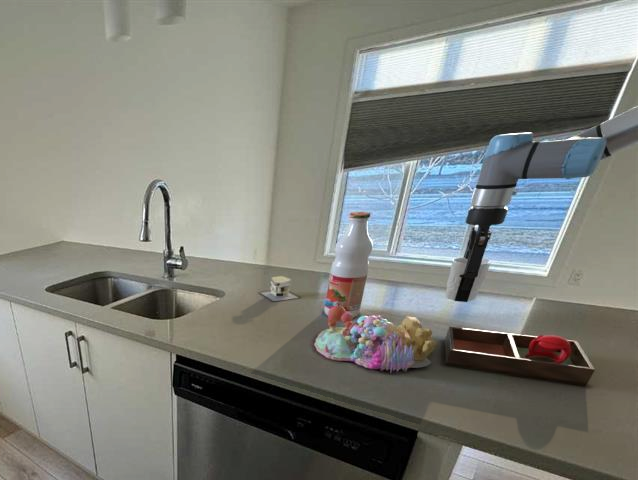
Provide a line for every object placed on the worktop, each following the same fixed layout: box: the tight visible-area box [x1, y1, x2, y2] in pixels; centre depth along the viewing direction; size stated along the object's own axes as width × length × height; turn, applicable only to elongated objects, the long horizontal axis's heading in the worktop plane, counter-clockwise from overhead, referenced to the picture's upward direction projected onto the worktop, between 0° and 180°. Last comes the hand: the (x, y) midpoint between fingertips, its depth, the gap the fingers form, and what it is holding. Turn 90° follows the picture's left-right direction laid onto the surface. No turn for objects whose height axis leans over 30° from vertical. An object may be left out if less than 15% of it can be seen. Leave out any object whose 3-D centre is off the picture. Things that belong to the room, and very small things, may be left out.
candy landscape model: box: [313, 305, 438, 374], centre depth 96 cm, size 25×24×9 cm
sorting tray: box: [444, 326, 596, 387], centre depth 88 cm, size 22×14×4 cm, turn 57°
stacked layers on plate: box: [260, 275, 299, 302], centre depth 137 cm, size 10×9×6 cm
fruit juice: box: [323, 211, 374, 319], centre depth 113 cm, size 9×9×28 cm
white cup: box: [444, 256, 492, 302], centre depth 108 cm, size 8×8×10 cm
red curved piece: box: [525, 334, 571, 364], centre depth 84 cm, size 8×6×6 cm
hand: (460, 296), depth 110 cm, fingers closed on white cup, 8 cm apart
